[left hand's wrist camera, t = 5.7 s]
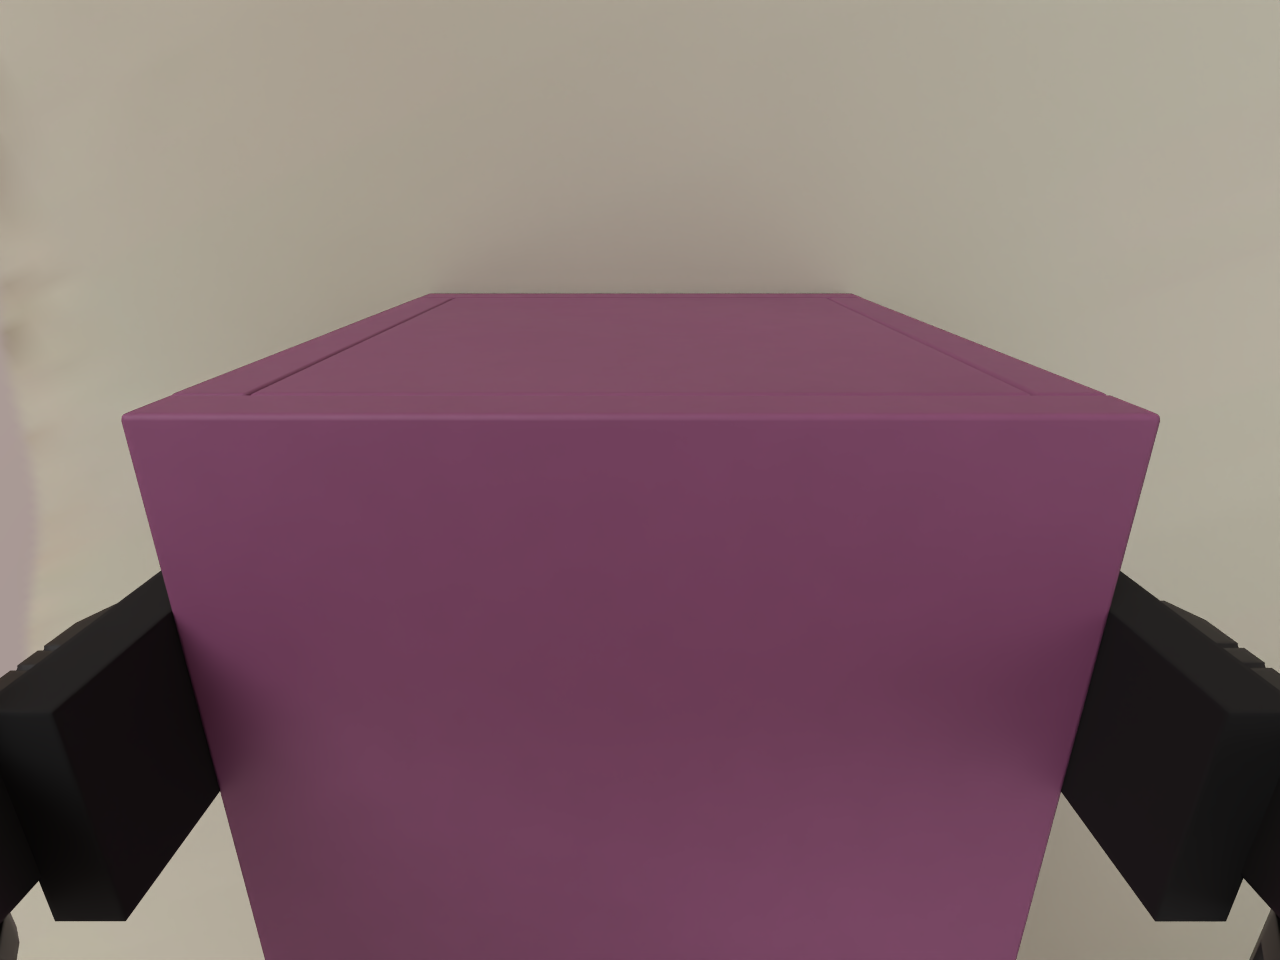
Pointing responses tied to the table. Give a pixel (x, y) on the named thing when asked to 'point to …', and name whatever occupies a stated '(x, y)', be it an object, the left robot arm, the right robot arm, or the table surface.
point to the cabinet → (640, 625)
